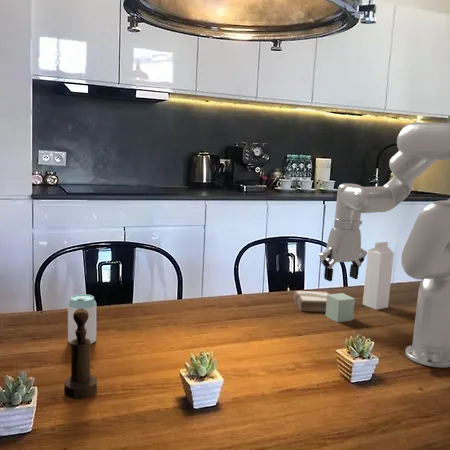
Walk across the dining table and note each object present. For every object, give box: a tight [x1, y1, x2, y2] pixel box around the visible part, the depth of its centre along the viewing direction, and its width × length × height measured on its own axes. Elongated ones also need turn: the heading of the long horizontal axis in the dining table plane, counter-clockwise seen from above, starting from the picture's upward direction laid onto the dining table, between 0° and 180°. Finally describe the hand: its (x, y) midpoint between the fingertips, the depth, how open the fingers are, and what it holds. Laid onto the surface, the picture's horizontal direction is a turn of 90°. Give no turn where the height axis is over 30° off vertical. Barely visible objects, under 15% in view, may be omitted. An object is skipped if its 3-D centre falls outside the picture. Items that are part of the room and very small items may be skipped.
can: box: [67, 293, 97, 345], centre depth 136 cm, size 7×7×12 cm
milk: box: [362, 241, 395, 311], centre depth 178 cm, size 6×6×22 cm
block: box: [325, 292, 356, 323], centre depth 165 cm, size 6×6×7 cm
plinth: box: [292, 290, 330, 312], centre depth 177 cm, size 12×12×3 cm
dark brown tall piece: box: [63, 309, 98, 400], centre depth 110 cm, size 7×6×18 cm
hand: (340, 278), depth 164 cm, fingers open, 9 cm apart
